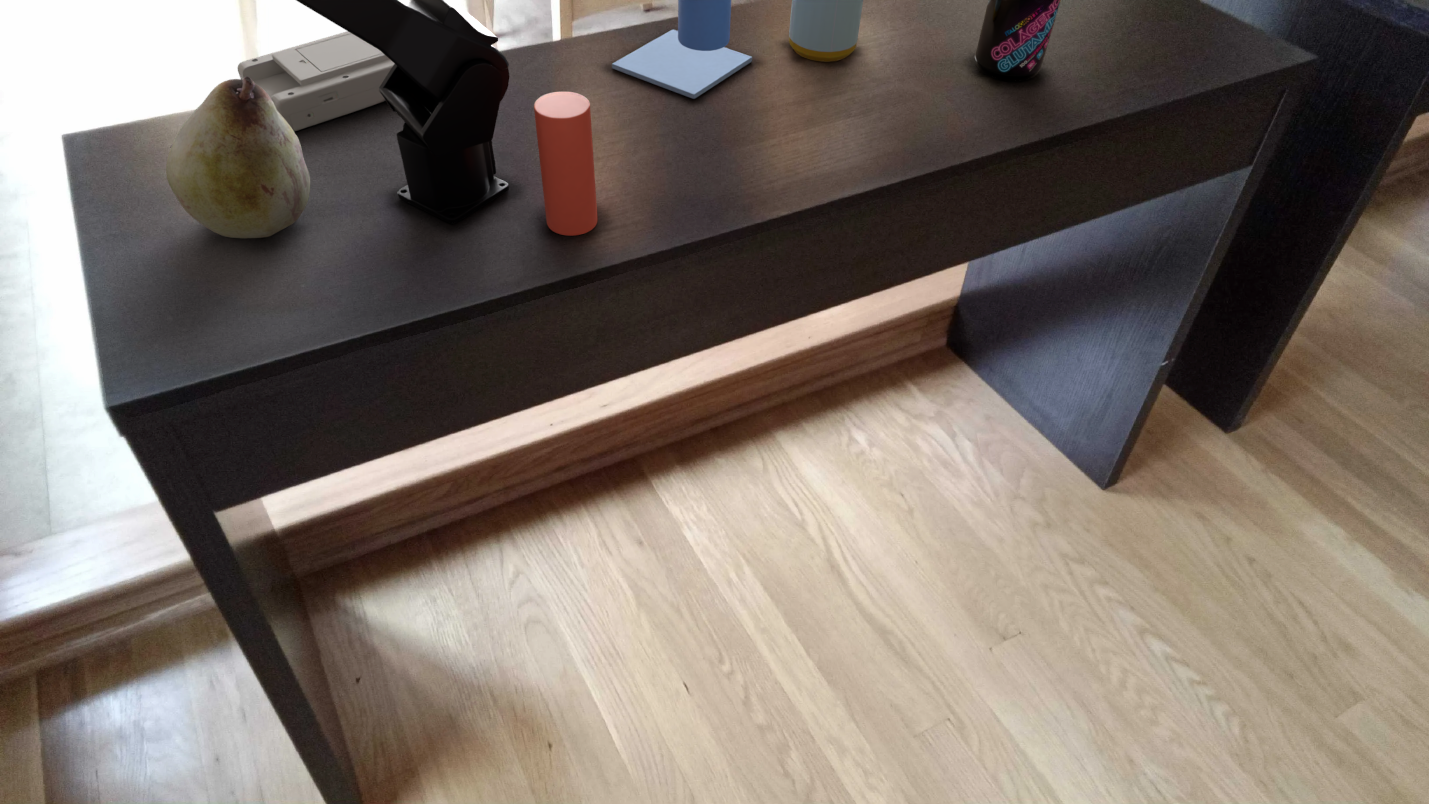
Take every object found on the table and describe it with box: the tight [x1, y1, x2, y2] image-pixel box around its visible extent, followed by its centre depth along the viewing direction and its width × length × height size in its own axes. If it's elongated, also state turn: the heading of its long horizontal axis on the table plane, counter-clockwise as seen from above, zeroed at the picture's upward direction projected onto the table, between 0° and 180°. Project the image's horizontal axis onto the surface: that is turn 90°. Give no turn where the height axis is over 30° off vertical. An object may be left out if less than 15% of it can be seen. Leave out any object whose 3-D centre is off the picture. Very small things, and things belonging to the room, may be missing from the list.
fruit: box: [165, 76, 311, 239], centre depth 69 cm, size 10×9×12 cm
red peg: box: [533, 91, 598, 237], centre depth 72 cm, size 4×4×10 cm
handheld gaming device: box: [237, 30, 395, 132], centre depth 87 cm, size 9×15×4 cm, turn 131°
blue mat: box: [611, 29, 753, 100], centre depth 94 cm, size 10×10×1 cm
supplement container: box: [974, 0, 1062, 83], centre depth 93 cm, size 7×7×10 cm
